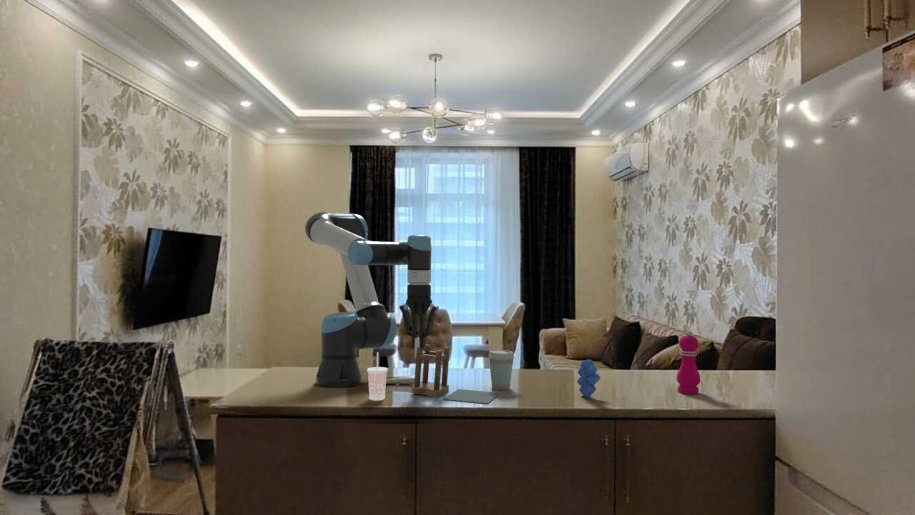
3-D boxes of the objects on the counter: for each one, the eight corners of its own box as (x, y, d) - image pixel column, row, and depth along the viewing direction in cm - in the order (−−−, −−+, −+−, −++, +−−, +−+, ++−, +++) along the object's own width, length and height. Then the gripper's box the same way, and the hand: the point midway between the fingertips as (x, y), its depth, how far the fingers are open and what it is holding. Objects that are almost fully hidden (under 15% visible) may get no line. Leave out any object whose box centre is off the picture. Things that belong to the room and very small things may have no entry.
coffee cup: (512, 391, 189) (512, 354, 189) (486, 390, 190) (486, 353, 190) (515, 386, 197) (515, 350, 197) (489, 384, 199) (490, 349, 199)
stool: (411, 392, 183) (414, 348, 183) (422, 386, 191) (425, 344, 191) (438, 397, 180) (441, 351, 180) (448, 391, 189) (451, 347, 188)
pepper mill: (699, 390, 193) (700, 329, 193) (700, 395, 186) (701, 332, 186) (675, 389, 195) (676, 328, 195) (676, 393, 188) (677, 331, 188)
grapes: (608, 401, 177) (608, 361, 177) (586, 402, 176) (587, 362, 176) (592, 392, 189) (593, 355, 188) (572, 393, 187) (573, 355, 187)
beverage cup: (389, 396, 180) (390, 351, 180) (383, 401, 174) (384, 354, 174) (370, 395, 181) (371, 350, 181) (364, 400, 175) (364, 353, 175)
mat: (443, 399, 177) (443, 398, 177) (458, 390, 190) (458, 389, 190) (488, 404, 172) (488, 403, 172) (500, 393, 185) (500, 392, 185)
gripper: (395, 283, 186) (394, 358, 185) (433, 284, 181) (433, 361, 181) (405, 283, 193) (404, 355, 193) (442, 283, 188) (442, 357, 188)
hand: (418, 358), depth 187 cm, fingers closed
